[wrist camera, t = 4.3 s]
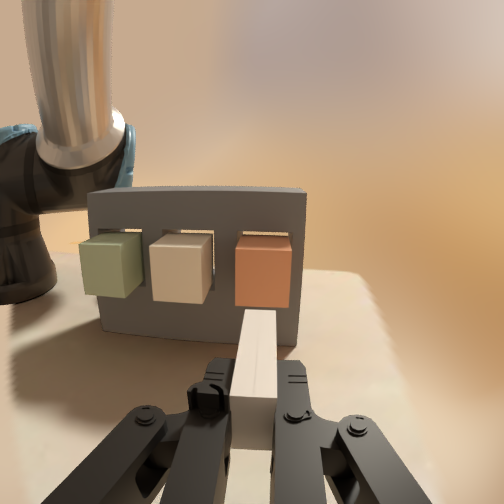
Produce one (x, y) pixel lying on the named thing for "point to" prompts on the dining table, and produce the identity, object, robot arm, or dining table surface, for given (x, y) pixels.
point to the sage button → (112, 263)
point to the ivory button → (182, 267)
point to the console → (225, 241)
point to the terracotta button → (263, 271)
